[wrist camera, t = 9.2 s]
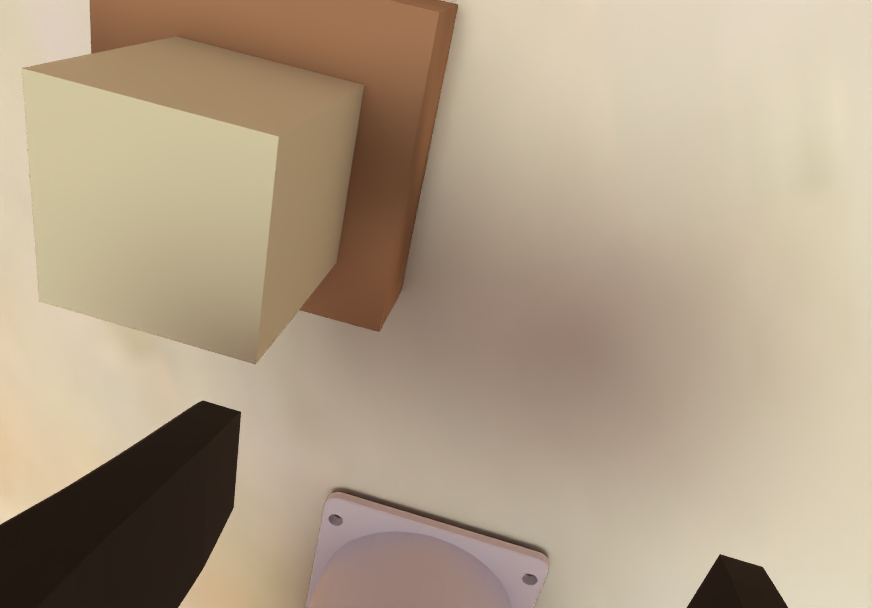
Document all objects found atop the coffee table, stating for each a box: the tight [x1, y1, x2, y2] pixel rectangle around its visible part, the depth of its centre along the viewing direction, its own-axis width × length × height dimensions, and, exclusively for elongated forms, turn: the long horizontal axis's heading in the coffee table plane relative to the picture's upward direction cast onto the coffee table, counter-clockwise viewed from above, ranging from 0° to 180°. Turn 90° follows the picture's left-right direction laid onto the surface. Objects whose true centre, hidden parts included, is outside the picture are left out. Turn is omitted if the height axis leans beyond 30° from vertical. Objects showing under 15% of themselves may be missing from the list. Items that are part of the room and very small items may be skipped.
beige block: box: [22, 36, 364, 364], centre depth 15 cm, size 4×4×5 cm
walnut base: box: [90, 0, 458, 332], centre depth 18 cm, size 8×8×3 cm
